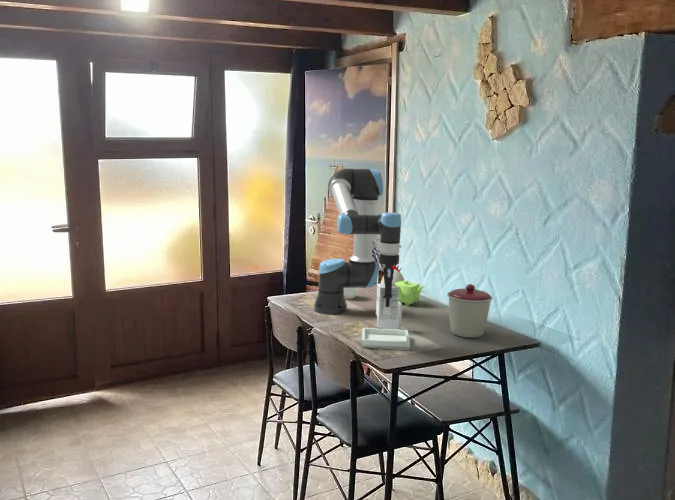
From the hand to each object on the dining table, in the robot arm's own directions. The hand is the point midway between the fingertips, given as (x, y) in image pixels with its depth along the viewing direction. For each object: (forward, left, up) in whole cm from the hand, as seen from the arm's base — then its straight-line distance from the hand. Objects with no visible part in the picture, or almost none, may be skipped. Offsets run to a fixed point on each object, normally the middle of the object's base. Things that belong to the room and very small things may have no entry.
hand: (386, 311), depth 242 cm
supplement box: (0, 0, -2) cm, 2 cm away
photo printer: (+2, +19, -12) cm, 23 cm away
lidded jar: (-17, +69, -12) cm, 72 cm away
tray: (0, 0, -12) cm, 12 cm away
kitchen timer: (+6, +89, -12) cm, 90 cm away
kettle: (+11, +63, -12) cm, 65 cm away
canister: (+34, +16, -12) cm, 40 cm away
